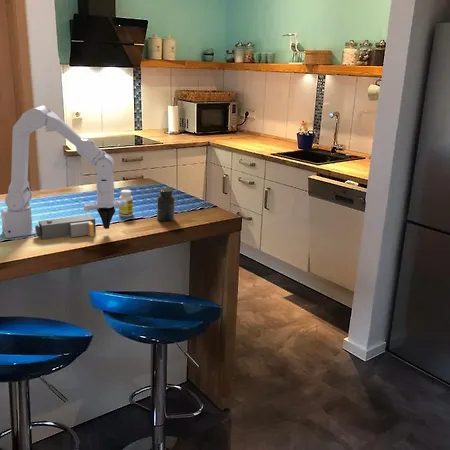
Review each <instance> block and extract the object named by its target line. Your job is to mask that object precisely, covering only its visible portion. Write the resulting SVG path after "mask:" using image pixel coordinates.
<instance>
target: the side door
mask: <svg viewBox="0 0 450 450" xmlns="http://www.w3.org/2000/svg"><path fill="white" fill-rule="evenodd" d="M94 235H95V233H94V227H93V223H92V222H91V221H86V222H78V223H70V236H69V237H71V238H74V237H81V236H89V237H94Z"/></svg>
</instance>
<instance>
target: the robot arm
mask: <svg viewBox="0 0 450 450" xmlns="http://www.w3.org/2000/svg"><path fill="white" fill-rule="evenodd" d="M43 127H44V130H47V131H55V132H56V133H58V134H59V135H60V136H62V137H63V138H64V139H66V140H67V142H70V143H71V144H72V145H73V146H75V149H76V153H77V154H79V155H80V156H81V157H82V158H84V160H86V161H87V162H88V163H89V164H90V165H92V166H94V167H93V168H94V170H95V171H96V182H95V183H96V201H93V202H90V203H85V204H83V210H84V211H86V212H90V211H97V213H98V214H99V217H100V219H101V221H102V226H103V229H105V230H108V229H110V226H111V222H112V218H113V216H114V214H115V213H116V208H119V207H121V206H124V207H126V206H127V201H125V200H119V199H115V183H114V182H115V181H114V178H115V177H114V170H113V169H114V166H115V161H114V158H113V156H112V155H111V154H109V153H107V152H106V151H105V150H102V149H100V147H98V146H97V145H96V144H95V143H96V141H94V140H93V139H91V140H90V139H89V138H82V137H81V136H80V135H79V134H78V133H77V132H76V131H75V130H74V129H72V127H70V126H69V125H68V124H67V123H66V122H65V121H64V120H63V119H62V118H60V117H59V116H58V115H57V113H55V112H54V111H51V110H50V108H49V107H47V106H45V105H38V106H35V107H33V108H31V109H28V110H27V111H25V112H23V113H22V114H21V116H20V117H19V118H18V120H17V121H16V123H15V124H14V125H13V127H12V136H11V137H12V139H11V141H12V142H11V146H12V147H11V169H10V170H11V173H10V184H9V186H8V191H7V195H6V196H5V198H4V203H5V205H6V207H7V208H5V209H2V210H0V216H1V225H2V226H1V227H2V229H1V230H2V233H3V235H4V236H5V237H6V239H9V238H11V239H12V238H17V237H26V236H33V235H36V231H35V229H34V227H33V219H32V207H31V203H30V200H31V199H32V196H33V194H32V191H31V188H30V181H29V180H28V179H29V157H30V156H29V151H30V148H29V147H30V134H31V133H33V132H34V131H36V130H39V129H42V128H43Z"/></svg>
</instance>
